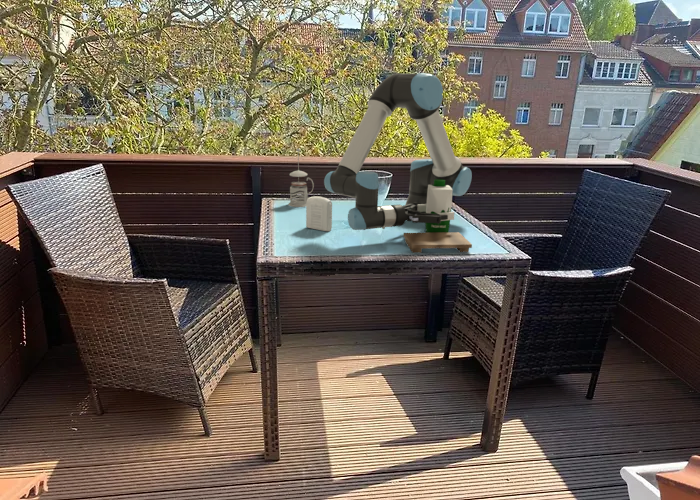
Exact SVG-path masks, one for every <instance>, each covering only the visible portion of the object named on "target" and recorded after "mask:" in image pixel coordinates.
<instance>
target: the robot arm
mask: <svg viewBox="0 0 700 500" xmlns="http://www.w3.org/2000/svg"><path fill="white" fill-rule="evenodd" d="M443 93H444V89H443V85H442V82H441V80H440V79H439V78H438V77H437V75H434V74H431V73H426V72H419V73H402V72H399V73H397V72H396V73H393V74H391V75H389V76H388V77H386V78H385V79H384V80H383V81H381V82H380V84H379V85H378V86H377V87H376V88H375V89H374V91H373V92H372V94H371V96H370V97H369V99H368V101H367V109H366V111H365V114H364V115H363V118H362V119H361V121H360V122H359V125H358V127H357V128H356V130H355V132H354V135H353V136H352V138H351V140H350V142H349V144H348V147H347V148H346V150H345V152H344V154H343V155H342V158H341V160H340V162H339V164H338V166H337V168H336V169H335V170H332V171H329V172H328V173H327V174H326V175H325V177H324V179H323V185H324V187H325V190H327V191H328V192H330V193H332V194H335V195H340V196H346V197H350V198H353V199H355V206H354V207H353V208H350V209H349V210H348V214H347V222H348V226H349V228H351V230H353V231H361V230H362V231H366V230H372V229H381V228H382V229H383V230H385V229H386V228H391V227H393V228H394V227H401V226H403V225H404V224H405V223H406V221H407V222H411V223H413V224H415V223H416V224H419V223H423V224H425V223H437V224H439V223H441V221H445V220H450V221H453V220H455V211H451V212H445V213H438V214H430V213H426V203H427V191H428V185H434V180H435V179H442V180H445V185H449V186H450V187H451V188H452V189H453V191H452V197H453V196H456V197H461V196H463V195H465V194H466V193H467V191H468V190H469V188H470V186H471V182H472V178H473V177H472V175H473V174H472V170H471V169H470V167H468V166H463V164H462V161H461V159H460V158H459V157H458V156H455V153H454V150H453V148H452V145H451V143H450V139H449V136H448V134H447V131H446V129H445V126H444V125H445V124H444V123H443V120H442V117H441V114H440V112H439V110H440V109H441V104H442V101H443V99H444V97H443V96H444V95H443ZM398 108H400V109H401V108H402V109H405V110H406V111H407V114H408V116H409V118H410V119H411V120H414V121H415V122H416V124H417V127H418V130H419V131H420V135H421V136H422V139H423V142H424V144H425V147H426V149H427V151H428V155H429V157H430V158H425V159H424V158H423V159H415V160H413V161H412V162H411V163H410V170H409V189H408V197H407V199H406V202H405V204H404V205H401V204H389V205H379V206H378V202H379V187H380V185H379V184H380V183H379V174H378V173H377V172H376V171H375V172H374V171H370V170H369V171H368V170H364V171H363V170H362V171H360V170H361V169H362V167H363V165H364V162H365V161H366V159H367V156H368V155H369V153H370V151H371V149H372V147H373V145H374V143H375V141H376V139H377V138H378V135H379V133H380V131H381V130H382V128H383V126H384V124H385V122H386V120H387V118H388V117H391V116H392V115H393V112H394V111H395V110H396V109H398Z"/></svg>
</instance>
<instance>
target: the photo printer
mask: <svg viewBox="0 0 700 500" xmlns="http://www.w3.org/2000/svg"><path fill="white" fill-rule="evenodd" d="M305 209H306V210H305V213H306V214H305V215H306V216H305V218H306V219H305V223H306V224H305V226H306V228H309V229H314V230H317V231H318V230H319V231H321V232H323V231H324V232H331V231H332V228H333V227H332V225H333V202H332V200H330V199H329V198H326V197H324V196H315V195H313V196H311V197H309V196H308V199H307V202H306V206H305Z"/></svg>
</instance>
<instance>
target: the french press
mask: <svg viewBox="0 0 700 500" xmlns="http://www.w3.org/2000/svg"><path fill="white" fill-rule="evenodd" d="M295 151H296V152H297V153H298V154H297V166H298V168H297V170H294V171H292V172H290V173H289V176H290V177H294V178H295V177H296V178H297V177H298V178H297V179H298V181H291V182H290V187H289V193H290V194H289V196H290V199H289V202H288V205H287V206H290V207H293V208H300V207H301V208H304V207H305V208H306V202H307V199H308V198H309V196H308V195H310V194H311V193H312V192H313V190H314V187H315V183H314V181H313V179H312V178H310V177H307V176H308V173H307V172H305V171H302V170H300V167H299V165H300V163H299V161H300V160H299V159H300V158H299V157H300V156H299V153H300V152H301V149H300V148H296V150H295ZM302 177H306V181H307V182H308V180H310V181H311V184H312V189H311V190H310V192H308V186H307V184H308V183H307V182H305V181H300V178H302Z"/></svg>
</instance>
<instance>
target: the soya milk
mask: <svg viewBox="0 0 700 500" xmlns="http://www.w3.org/2000/svg"><path fill="white" fill-rule="evenodd" d="M452 191H453V189H452V188H451V187H450V186H449V185H445V180H442V179H435V180H434V185H428V191H427V203H426V213H430V214H438V213H445V212H452V206H453V205H452V203H453V196H452ZM450 224H451V220H445V221H441V223H439V224H437V223H424V225H425V233H437V232H450V231H449V230H450Z"/></svg>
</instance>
